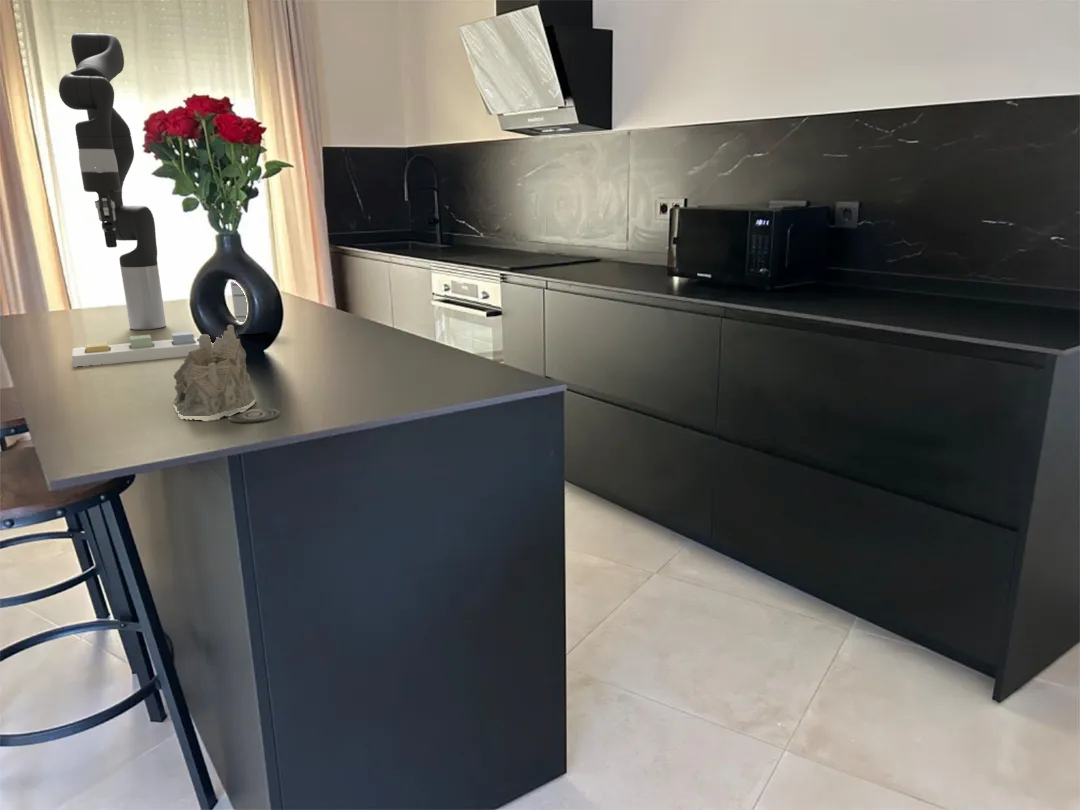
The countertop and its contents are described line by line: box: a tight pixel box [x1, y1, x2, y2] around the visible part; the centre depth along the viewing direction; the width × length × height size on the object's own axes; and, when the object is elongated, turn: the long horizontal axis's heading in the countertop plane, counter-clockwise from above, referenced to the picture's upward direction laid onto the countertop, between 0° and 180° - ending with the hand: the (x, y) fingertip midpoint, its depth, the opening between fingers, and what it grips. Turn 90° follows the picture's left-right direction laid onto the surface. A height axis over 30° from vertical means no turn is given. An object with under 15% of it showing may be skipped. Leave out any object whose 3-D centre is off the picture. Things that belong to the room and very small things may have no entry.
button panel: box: [71, 336, 214, 368], centre depth 182 cm, size 10×32×3 cm, turn 119°
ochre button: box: [85, 341, 109, 353], centre depth 176 cm, size 4×4×3 cm
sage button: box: [129, 334, 153, 349], centre depth 180 cm, size 4×4×3 cm
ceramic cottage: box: [172, 324, 256, 416], centre depth 137 cm, size 16×16×15 cm
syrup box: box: [229, 280, 247, 322], centre depth 207 cm, size 6×6×14 cm
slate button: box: [171, 330, 195, 345], centre depth 184 cm, size 4×4×3 cm
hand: (111, 247), depth 181 cm, fingers closed
